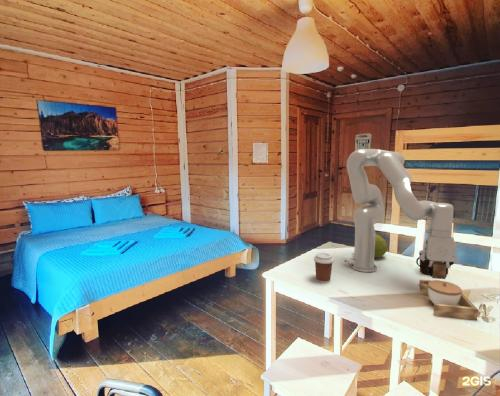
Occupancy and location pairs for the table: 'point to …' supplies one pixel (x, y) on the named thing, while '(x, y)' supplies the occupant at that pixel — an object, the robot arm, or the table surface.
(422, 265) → the coffee mug
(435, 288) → the lidded jar
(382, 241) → the fruit
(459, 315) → the holder
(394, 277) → the table surface
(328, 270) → the coffee cup
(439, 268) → the walnut block
